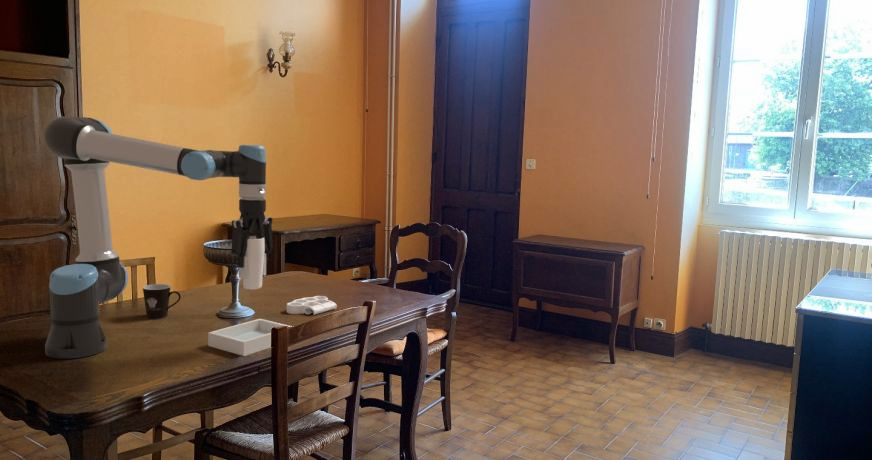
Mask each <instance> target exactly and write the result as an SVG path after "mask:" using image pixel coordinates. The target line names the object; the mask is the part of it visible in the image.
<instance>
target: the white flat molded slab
mask: <svg viewBox="0 0 872 460" xmlns="http://www.w3.org/2000/svg"><path fill="white" fill-rule="evenodd" d="M337 307H338V305H337V303H336V302H334V301H332V300H329V298H328V297H327V296H325V295H315V296H311V297H302V298H298V299H294V300H292V301H291V302H287V303H286V313H288V314H290V315H301V314H304V313H305V314H306V315H308V314H310V313H313V315H312V316H315V315H318V314H321V313H322V314H323V313H326V312H329V311H332V310H335V309H337ZM305 314H304V315H305Z"/></svg>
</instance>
